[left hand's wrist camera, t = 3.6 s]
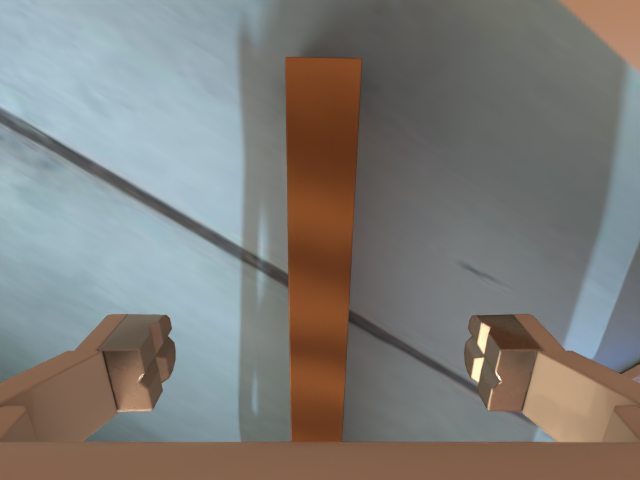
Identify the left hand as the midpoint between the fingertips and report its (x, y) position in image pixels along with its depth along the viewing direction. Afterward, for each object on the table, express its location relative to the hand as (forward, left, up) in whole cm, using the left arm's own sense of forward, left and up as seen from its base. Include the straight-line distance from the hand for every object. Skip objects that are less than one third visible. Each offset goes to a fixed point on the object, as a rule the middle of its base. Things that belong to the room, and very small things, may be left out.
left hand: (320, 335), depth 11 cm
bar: (+23, +17, -21) cm, 36 cm away
